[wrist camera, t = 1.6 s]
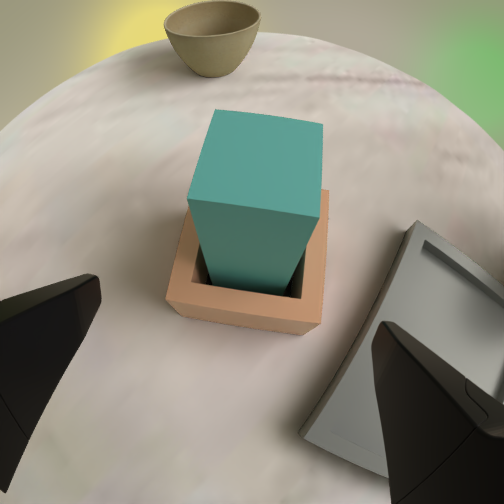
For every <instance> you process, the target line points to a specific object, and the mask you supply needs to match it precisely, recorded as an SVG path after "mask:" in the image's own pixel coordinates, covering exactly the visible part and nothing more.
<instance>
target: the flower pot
mask: <svg viewBox="0 0 504 504" xmlns="http://www.w3.org/2000/svg"><path fill="white" fill-rule="evenodd" d="M260 20H261V14H260V12H259V11H258V10H257V9H256V8H255V7H253V6H251V5H249V4H246V3H242V2H237V1H229V0H212V1H204V2H198V3H194V4H191V5H187V6H185V7H182V8H180V9H178V10H176V11H174V12H173V13H171V14H170V15H169V16H168V17H167V18H166V19H165V22H164V28H165V31H166V34H167V36H168V38H169V40H170V42H171V44H172V46H173V48H174V49H175V51H176V52H177V54H178V55H179V56H180V58H181V59H182V60H183V61H184V62H185V63H186V64H187V65H188V66H189V67H190V68H191V69H192V70H193V71H194V72H196V73H197V74H199V75H201V76H204V77H221V76H225V75H227V74H230V73H231V72H233V71H234V70H235V69H236V68H237V67H238V66H239V64H240V63H241V62H242V61H243V59H244V58H245V56H246V55H247V53H248V52H249V50H250V48H251V46H252V44H253V42H254V40H255V37H256V34H257V31H258V28H259V24H260Z"/></svg>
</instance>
